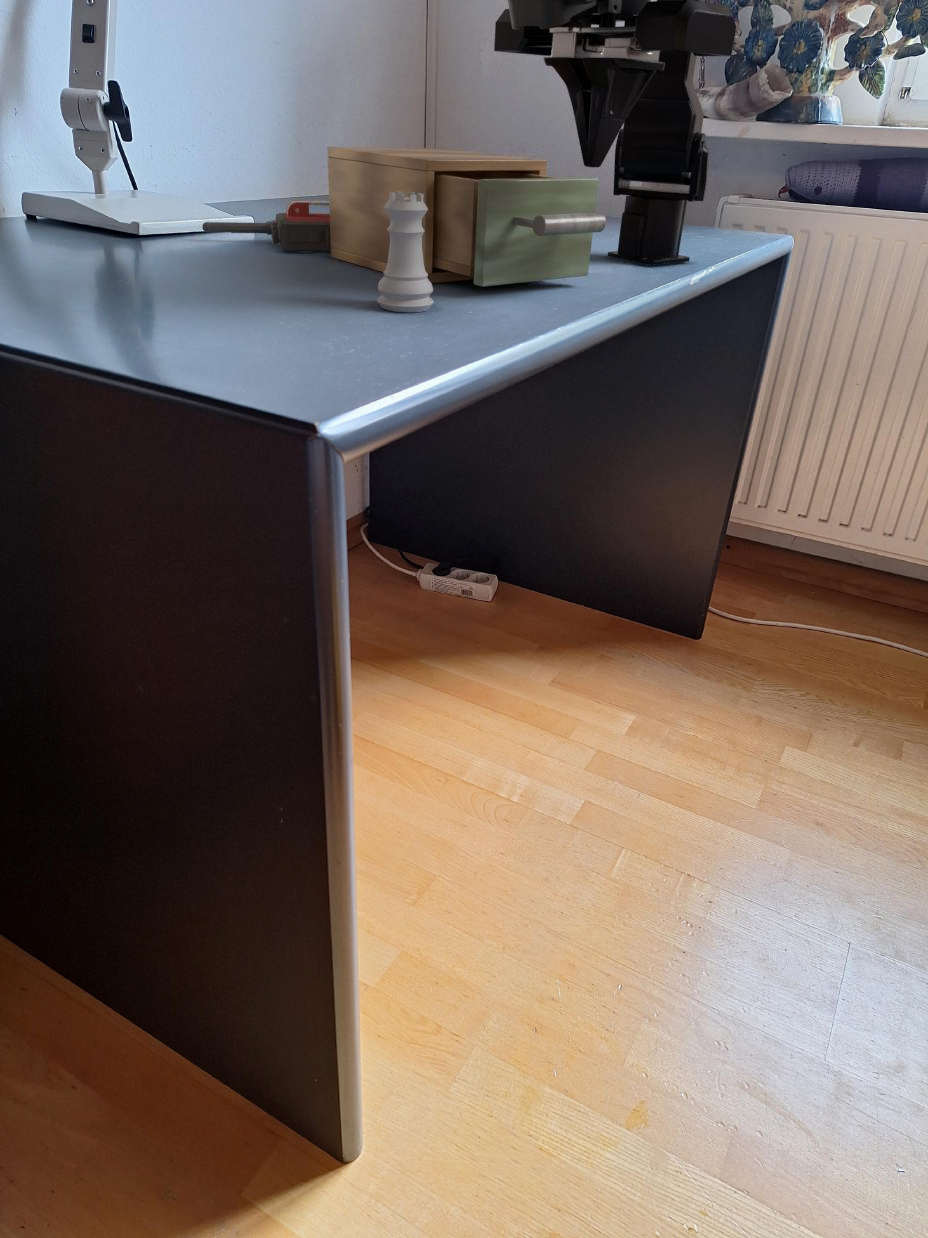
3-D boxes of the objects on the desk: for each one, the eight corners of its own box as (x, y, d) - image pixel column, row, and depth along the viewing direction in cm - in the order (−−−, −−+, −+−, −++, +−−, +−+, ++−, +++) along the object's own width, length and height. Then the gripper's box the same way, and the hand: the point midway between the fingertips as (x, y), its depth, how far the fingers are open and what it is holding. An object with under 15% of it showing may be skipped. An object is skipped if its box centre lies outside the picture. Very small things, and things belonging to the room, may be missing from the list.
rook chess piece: (365, 307, 66) (363, 192, 62) (396, 298, 70) (396, 188, 66) (415, 315, 65) (417, 197, 60) (444, 306, 68) (447, 193, 64)
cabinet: (537, 272, 83) (547, 159, 78) (424, 284, 76) (426, 159, 71) (439, 249, 94) (442, 147, 89) (330, 257, 86) (327, 146, 81)
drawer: (620, 283, 75) (633, 182, 71) (514, 295, 68) (522, 185, 64) (485, 251, 87) (489, 164, 83) (382, 259, 80) (382, 164, 76)
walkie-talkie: (387, 241, 97) (203, 239, 92) (387, 197, 95) (198, 193, 90) (403, 253, 90) (204, 252, 85) (403, 206, 88) (199, 203, 83)
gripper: (442, -96, 60) (436, 157, 68) (646, -135, 48) (609, 179, 56) (556, -73, 66) (538, 157, 74) (763, -101, 54) (715, 177, 62)
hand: (592, 166), depth 67 cm, fingers closed
